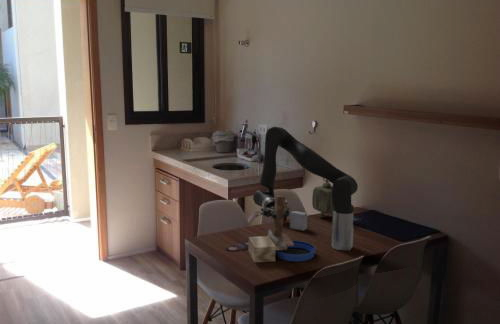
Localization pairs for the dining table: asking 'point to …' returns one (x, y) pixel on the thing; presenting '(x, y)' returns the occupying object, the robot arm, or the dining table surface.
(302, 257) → the bowl
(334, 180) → the robot arm
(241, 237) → the dining table surface
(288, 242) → the tile
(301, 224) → the medicine box
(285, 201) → the canned food
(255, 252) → the beige square open box
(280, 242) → the scraper
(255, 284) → the dining table surface
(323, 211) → the tabletop clock
